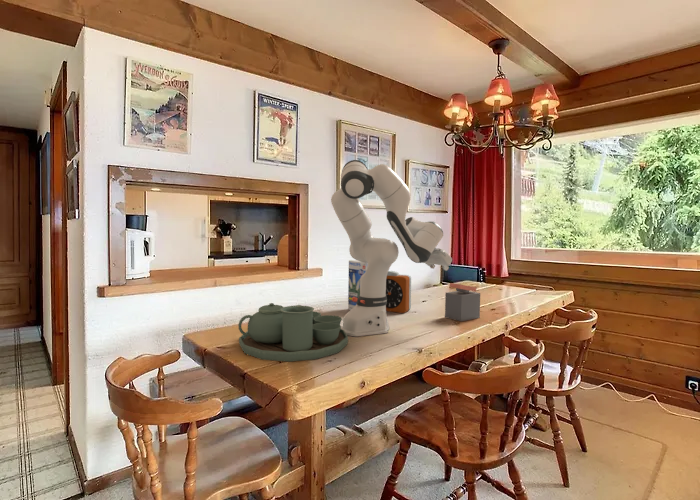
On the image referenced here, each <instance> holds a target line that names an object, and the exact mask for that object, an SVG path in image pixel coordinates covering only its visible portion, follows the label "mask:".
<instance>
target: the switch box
mask: <svg viewBox="0 0 700 500" xmlns="http://www.w3.org/2000/svg"><path fill="white" fill-rule="evenodd" d="M444 298H445V299H444V300H445V304H444V306H445V307H444V318H446V317H447V319H452V320H455V321H459V322H465V321H469V320H471V321H472V320H475V319H479V318H481V317H480V316H481V293H480V292H477V291H476V292H475V291H469V293H464V292H459V291H456V290H455V291H448V292H445V297H444Z"/></svg>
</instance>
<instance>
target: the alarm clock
mask: <svg viewBox="0 0 700 500" xmlns="http://www.w3.org/2000/svg"><path fill="white" fill-rule="evenodd" d="M386 296H387V304H386V312H390V313H397V314H398V313H400V314H405V313H406V312H409V311H411V309H412V277H411V275H409V274H400V273H399V272H397V271H395V270H389V271H388V274H387V278H386Z"/></svg>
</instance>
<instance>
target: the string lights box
mask: <svg viewBox="0 0 700 500" xmlns="http://www.w3.org/2000/svg"><path fill="white" fill-rule="evenodd" d="M367 265H368V263H364V262H360V261H358V260H356V259H353V260H352V259H350V260H348V291H347V292H348V295H347V296H348V298H347V302H348V303H347V304H348V305H347V309H348V310H349V311H350V310H351V309H352V308H353V307H354V306H356V305H357V304H356V303H357V302H353V301H352V297H356V298H358V297H359V295H360V278H361V276H362V275H363V274H364V273H365V272H366V269H367Z"/></svg>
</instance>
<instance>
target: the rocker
mask: <svg viewBox="0 0 700 500" xmlns="http://www.w3.org/2000/svg"><path fill="white" fill-rule="evenodd" d="M449 288H453V289H455V291H459V292H464V293H469V291H471V292H477V287H475V286H472V285H471V286H470V285H464V284H461V283H452V282H449Z"/></svg>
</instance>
